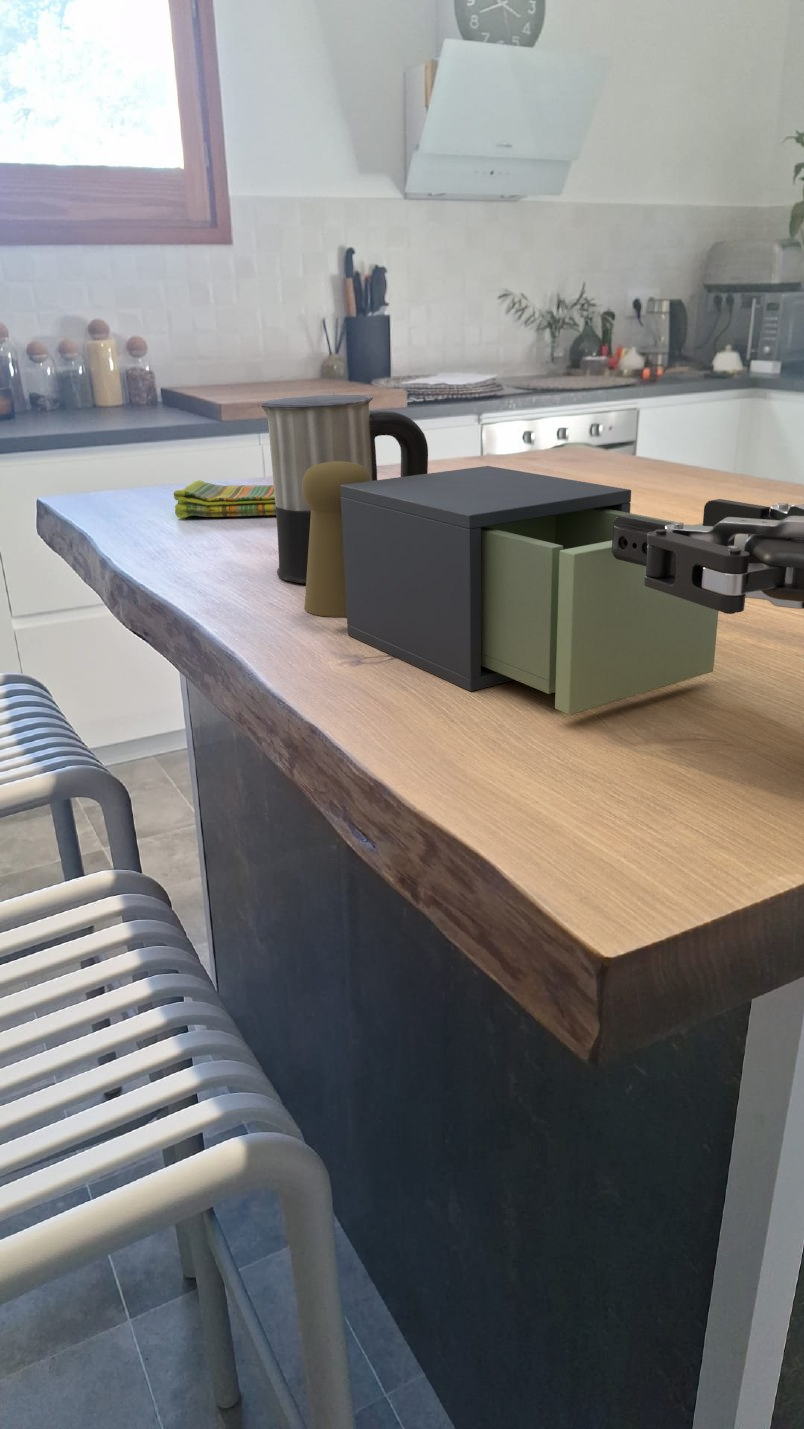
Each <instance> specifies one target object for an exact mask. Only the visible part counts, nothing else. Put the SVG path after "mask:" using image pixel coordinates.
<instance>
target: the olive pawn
mask: <svg viewBox="0 0 804 1429" xmlns="http://www.w3.org/2000/svg"><path fill="white" fill-rule="evenodd" d="M367 481H371V479H370V476H369V473H368V472H367V470H366V468H365V467H363V466H361V465H359V464H356V463H351V462H343V461H333V462H326V463H321V464H318V465H314V466H312V467H310V468H309V469H307V471H306V473H305V475H304V477H303V481H302V493H303V496H304V499H305V502H306V503H307V504H308V505H309V507H310V508H311V518H310V533H309V548H308V564H307V579H306V584H305V595H304V610H305V611H306V612H307V613H309V614H312V615H315V616H320V617H328V618H329V617H330V618H331V617H332V618H347V609H346V589H345V569H344V550H343V530H342V510H341V488H340V486H341V485H344V484H351V483H359V482H367Z"/></svg>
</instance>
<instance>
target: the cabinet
mask: <svg viewBox="0 0 804 1429" xmlns="http://www.w3.org/2000/svg"><path fill="white" fill-rule="evenodd" d="M340 488H341V510H342V530H343V550H344V569H345V589H346V609H347V617H346V624H347V635H348V636H349V637H351V638H354V639H356V640H358V641H360V642H362V643H365V644H367V645H369V646H371V647H373V648H375V649H377V650H380V651H382V652H384V653H386V654H388V655H389V656H392V657H395V658H397V659H399V660H401V661H403V662H405V663H408V664H410V665H412V666H414V667H416V668H419V669H421V670H422V671H425V672H428V673H430V674H432V675H434V676H436V677H438V678H440V679H442V680H444V681H446V682H449V683H450V684H453V685H455V686H457V687H460V688H461V689H464V690H466V691H468V692H474V691H478V690H481V689H485V688H489V687H494V686H497V685H500V684H504V683H508V682H511V681H515V680H514V679H512V678H510V677H507V676H505V675H502V674H500V673H498V672H495V671H493V670H491V669H488V668H486V667H483V666H481V528H480V527H486V526H492V525H498V524H504V523H510V522H516V521H522V520H528V519H534V518H540V517H546V516H552V515H558V514H564V513H570V512H576V511H582V510H588V509H594V508H600V507H601V508H606V509H611V510H617V511H622V512H627V513H631V502H632V490H631V489H628V488H623V487H616V486H610V485H605V484H599V483H592V482H586V481H581V480H576V479H570V478H569V479H568V478H563V477H556V476H551V475H545V474H540V473H533V472H527V471H521V470H517V469H516V470H515V469H510V468H504V467H497V466H491V465H484V466H476V467H475V466H474V467H468V468H460V469H453V470H444V471H437V472H436V471H435V472H430V473H429V472H428V474H421V475H413V476H405V477H401V476H399V477H398V476H397V477H391V478H390V477H389V478H382V479H377V480H375V481H367V482H359V483H351V484H344V485H341V486H340Z"/></svg>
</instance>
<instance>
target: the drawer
mask: <svg viewBox="0 0 804 1429" xmlns="http://www.w3.org/2000/svg"><path fill="white" fill-rule="evenodd" d="M624 515H635V516H640V517H645V518H650V519H655V520H660V521H666V522H671V523H674V522H675V521H673V520H669V519H663V518H659V517H658V518H657V517H652V516H647V515H644V514H643V515H641V514H637V513H632V512H630V513H627V512H622V511H617V510H611V509H606V508H601V507H600V508H594V509H588V510H582V511H576V512H570V513H564V514H558V515H552V516H546V517H540V518H534V519H528V520H522V521H516V522H510V523H504V524H498V525H492V526H486V527H480V528H481V666H483V667H486V668H488V669H491V670H493V671H495V672H498V673H500V674H502V675H505V676H507V677H510V678H512V679H514V680H513V681H517V682H519V683H521V684H524V685H526V686H529V687H531V688H534V689H536V690H538V691H541V692H542V693H545V694H547V695H551V694H554V693H555V696H554V697H555V698H554V709H555V710H557V711H559V712H562V713H564V714H567V715H574V714H576V713H580V712H584V711H586V710H587V711H588V710H590V709H594V708H597V707H600V706H604V705H606V704H607V705H608V704H609V703H613V702H617V701H620V700H624V699H627V698H630V697H633V696H637V695H640V694H643V693H647V692H650V691H654V690H656V689H661V688H664V687H667V686H671V685H674V684H677V683H680V682H684V681H687V680H691V679H694V678H697V677H701V676H704V675H707V674H710V673H713V672H714V665H715V656H716V646H717V644H716V643H717V635H718V634H717V633H718V621H719V612H720V611H717V610H714V609H711V608H708V607H705V606H702V605H699V604H697V603H694V602H691V601H688V600H685V599H682V598H679V597H676V596H673V595H670V594H667V593H664V592H661V591H658V590H655V589H652V588H649V587H647V586H645V585H644V581H645V574H646V566H642V565H638V564H634V563H630V562H626V561H622V560H618V559H616V558H615V557H614V555H613V553H612V535H613V522H614V520H615V518H616V517H618V516H624ZM695 525H699V526H703V522H702V523H697V524H695ZM747 539H748V535H746V534H737V535H736V536H735V541H734V546H737V547H739V549H741V550H742V551H744V546H745V542H746V540H747Z"/></svg>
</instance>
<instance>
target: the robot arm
mask: <svg viewBox="0 0 804 1429" xmlns="http://www.w3.org/2000/svg"><path fill="white" fill-rule="evenodd" d="M702 516H703V517H702V523H703V526H699V525H696V524H685V522H680V521H674V523H671V522H666V521H660V520H655V519H650V518H645V517H640V516H635V515H624V516H618V517H616V518H615V520H614V522H613V535H612V553H613V555H614V557H615V558H616V559H618V560H622V561H626V562H630V563H634V564H638V565H642V566H646V574H645V581H644V585H645V586H647V587H649V588H652V589H655V590H658V591H661V592H664V593H667V594H670V595H673V596H676V597H679V598H682V599H685V600H688V601H691V602H694V603H697V604H699V605H702V606H705V607H708V608H711V609H714V610H717V611H719V612H721V613H724V614H726V615H733V614H735V613H741V612H744V611H745V605H746V599H754V600H755V599H756V600H763V601H768V602H769V603H770V604H771V605H773V606H774V607H778V608H787V609H788V608H789V609H797V610H799V609H800V610H804V503H803V504H789V503H788V502H778V503H777V504H771V505H770V506H766V505H762V504H761V505H759V504H755V503H748V502H742V501H735V500H728V499H723V498H718V499H710V500H708V501H706V502H705V504H704V506H703V515H702ZM737 534H746V535H748V539H747V540H746V542H745V546H744V551H742V550H741V549H739V547H737V546H734V541H735V536H736V535H737Z"/></svg>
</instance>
